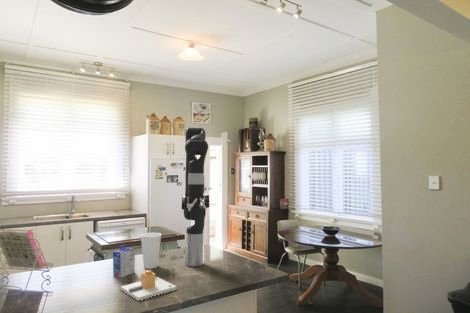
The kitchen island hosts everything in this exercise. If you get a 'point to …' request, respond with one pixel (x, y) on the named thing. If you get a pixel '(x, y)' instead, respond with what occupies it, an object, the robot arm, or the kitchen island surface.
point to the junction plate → (148, 289)
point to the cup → (150, 249)
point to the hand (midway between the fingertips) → (195, 218)
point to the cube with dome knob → (148, 279)
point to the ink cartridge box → (123, 262)
